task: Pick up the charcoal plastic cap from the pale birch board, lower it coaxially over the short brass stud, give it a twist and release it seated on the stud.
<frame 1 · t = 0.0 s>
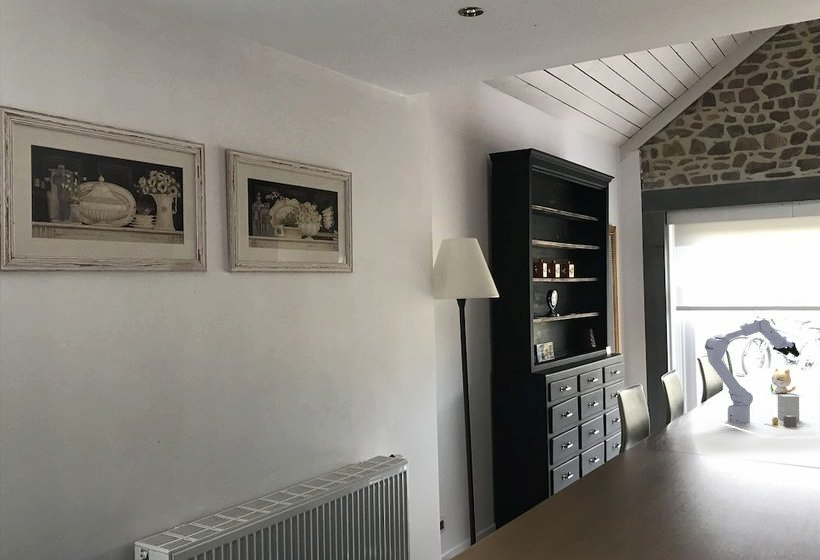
hand: (792, 354, 370), 32 cm above the table, tool tilted 50°, fingers open, 7 cm apart
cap: (790, 425, 353), point 1 cm above the table, touching board
stud: (775, 424, 357), resting on board
supplement box: (788, 421, 370), on the table
board: (782, 427, 354), on the table
kitten: (780, 393, 460), on the table
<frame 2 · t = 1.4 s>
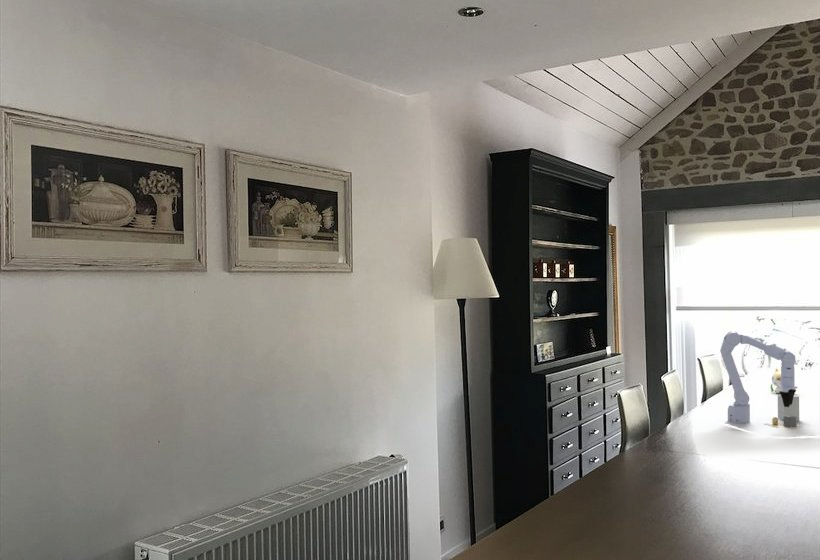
hand: (787, 405, 359), 9 cm above the table, tool pointing down, fingers open, 7 cm apart
nothing on the table moved.
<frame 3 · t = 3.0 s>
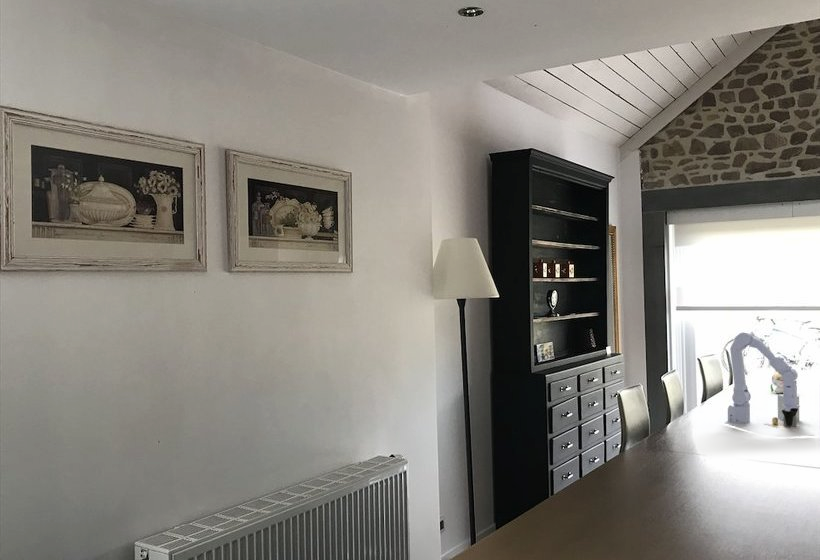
hand: (790, 424, 353), 2 cm above the table, tool pointing down, fingers closed on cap, 5 cm apart
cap: (790, 425, 353), point 1 cm above the table, touching board, gripper
everything else where it was.
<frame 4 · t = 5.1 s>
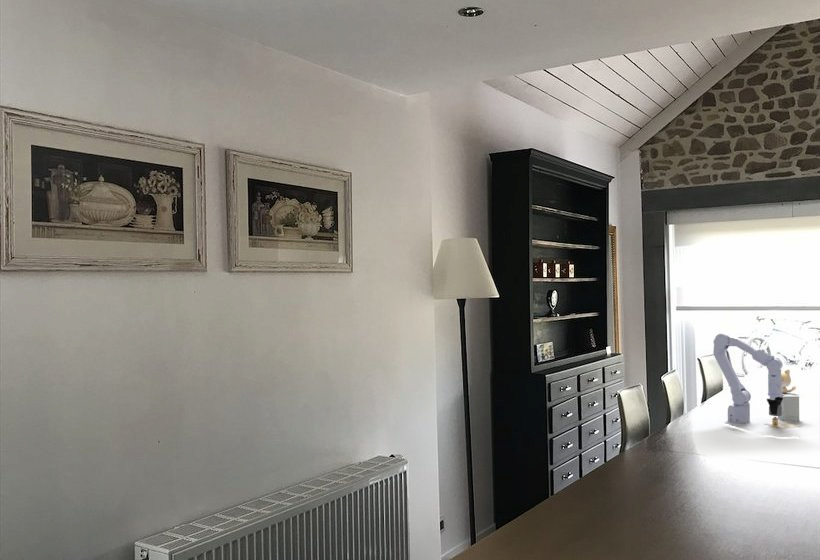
hand: (775, 413, 357), 6 cm above the table, tool pointing down, fingers closed on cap, 5 cm apart
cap: (775, 415, 357), point 5 cm above the table, touching gripper
everything else where it was.
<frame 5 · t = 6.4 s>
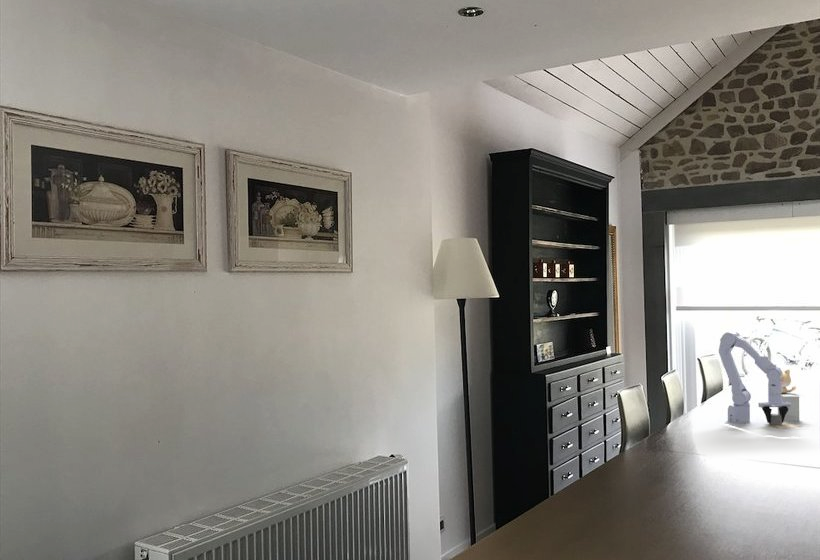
hand: (775, 422, 357), 2 cm above the table, tool pointing down, fingers closed on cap, 5 cm apart
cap: (775, 424, 356), point 1 cm above the table, touching gripper
everything else where it was.
when the fingers open (2 cm above the table, at t = 7.6 s): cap stays where it is, resting on board.
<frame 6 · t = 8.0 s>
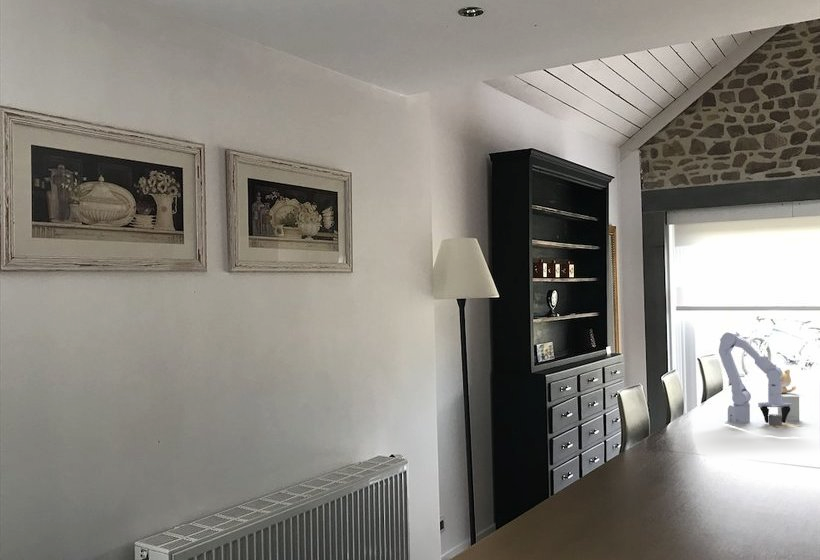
hand: (775, 422, 357), 2 cm above the table, tool pointing down, fingers open, 7 cm apart
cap: (775, 424, 356), point 1 cm above the table, touching board
everything else where it was.
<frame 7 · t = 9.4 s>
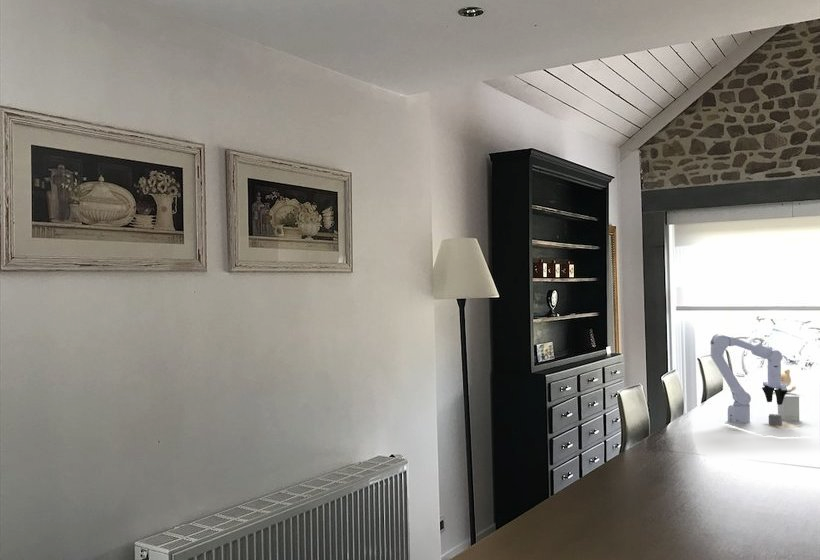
hand: (774, 403, 363), 10 cm above the table, tool pointing down, fingers open, 7 cm apart
nothing on the table moved.
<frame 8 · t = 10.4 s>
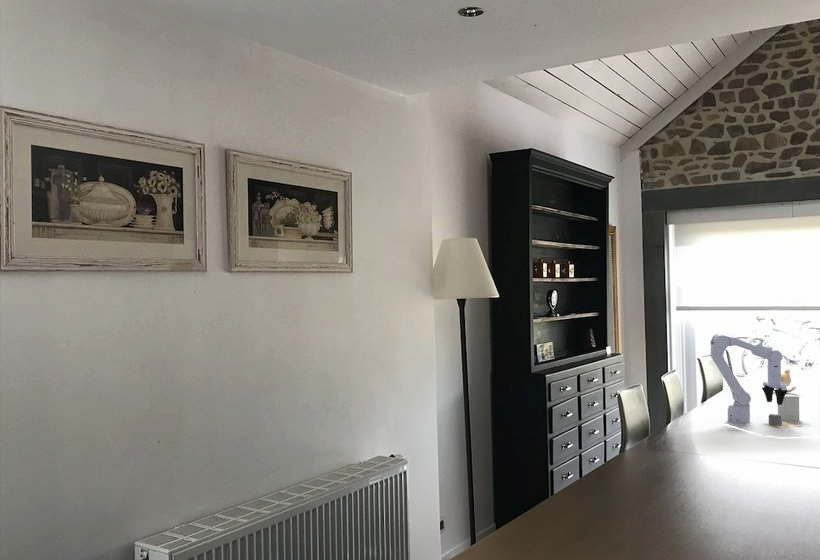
hand: (774, 403, 363), 10 cm above the table, tool pointing down, fingers open, 7 cm apart
nothing on the table moved.
at the end: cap 0.1 cm from the stud (horizontally); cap point 1.0 cm above the table; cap tilted 0° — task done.
